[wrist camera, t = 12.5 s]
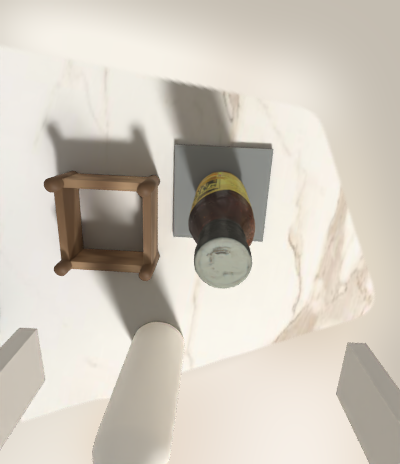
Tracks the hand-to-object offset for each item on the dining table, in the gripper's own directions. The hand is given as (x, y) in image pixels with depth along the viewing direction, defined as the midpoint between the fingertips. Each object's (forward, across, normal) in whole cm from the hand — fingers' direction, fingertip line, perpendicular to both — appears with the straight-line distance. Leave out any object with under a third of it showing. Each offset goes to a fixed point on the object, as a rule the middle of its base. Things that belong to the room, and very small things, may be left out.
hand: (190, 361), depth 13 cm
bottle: (+29, -6, -23) cm, 38 cm away
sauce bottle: (+29, +2, +1) cm, 29 cm away
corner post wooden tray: (+29, -12, -3) cm, 32 cm away
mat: (+29, +2, +1) cm, 29 cm away
